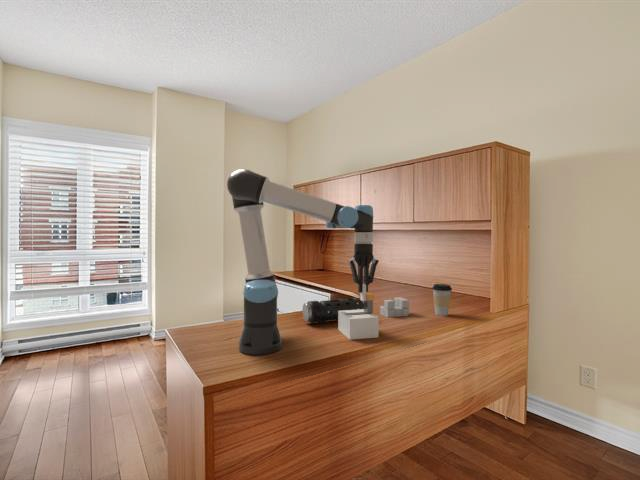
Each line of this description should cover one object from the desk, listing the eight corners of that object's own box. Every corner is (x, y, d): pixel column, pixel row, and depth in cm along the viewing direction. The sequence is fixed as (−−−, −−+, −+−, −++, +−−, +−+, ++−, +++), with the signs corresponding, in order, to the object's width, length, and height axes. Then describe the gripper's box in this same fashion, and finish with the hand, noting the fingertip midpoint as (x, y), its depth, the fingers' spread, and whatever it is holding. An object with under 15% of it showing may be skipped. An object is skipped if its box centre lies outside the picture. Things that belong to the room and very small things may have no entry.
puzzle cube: (396, 310, 175) (396, 295, 175) (409, 315, 164) (409, 300, 164) (376, 312, 172) (376, 296, 171) (387, 317, 160) (387, 301, 160)
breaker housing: (349, 339, 126) (350, 318, 126) (338, 329, 139) (338, 310, 139) (378, 337, 129) (378, 316, 129) (364, 327, 142) (364, 308, 142)
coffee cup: (433, 311, 172) (433, 283, 172) (452, 313, 168) (452, 284, 167) (430, 315, 163) (431, 285, 163) (451, 317, 159) (451, 287, 159)
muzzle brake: (364, 321, 153) (364, 299, 153) (309, 327, 142) (309, 304, 142) (354, 316, 162) (354, 295, 162) (301, 322, 151) (301, 299, 151)
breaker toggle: (367, 313, 132) (367, 295, 132) (361, 310, 137) (362, 292, 137) (374, 313, 133) (374, 294, 133) (368, 310, 138) (369, 292, 138)
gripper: (352, 243, 129) (351, 302, 129) (382, 243, 132) (381, 301, 132) (345, 242, 136) (345, 299, 136) (374, 242, 139) (373, 297, 140)
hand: (363, 300), depth 134 cm, fingers closed
